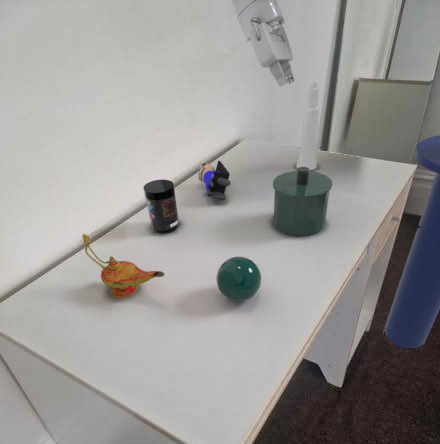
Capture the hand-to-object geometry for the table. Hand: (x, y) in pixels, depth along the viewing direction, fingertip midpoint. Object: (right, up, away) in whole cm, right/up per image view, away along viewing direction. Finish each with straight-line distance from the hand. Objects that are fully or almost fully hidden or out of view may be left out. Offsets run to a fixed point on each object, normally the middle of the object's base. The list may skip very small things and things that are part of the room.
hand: (287, 83), depth 86 cm
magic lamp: (-33, -48, -14) cm, 60 cm away
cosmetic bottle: (+10, -11, +24) cm, 28 cm away
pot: (+3, -32, +1) cm, 32 cm away
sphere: (-12, -49, -17) cm, 54 cm away
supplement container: (-29, -33, +3) cm, 44 cm away
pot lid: (+2, -25, -6) cm, 26 cm away
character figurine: (-17, -21, +15) cm, 31 cm away
